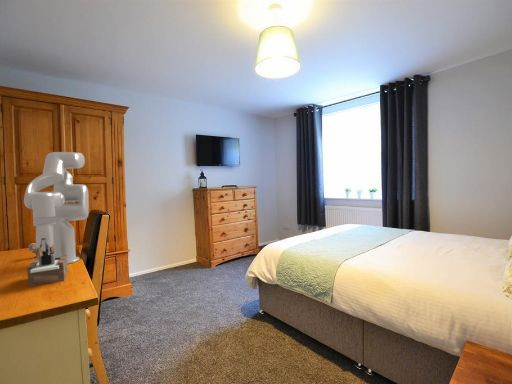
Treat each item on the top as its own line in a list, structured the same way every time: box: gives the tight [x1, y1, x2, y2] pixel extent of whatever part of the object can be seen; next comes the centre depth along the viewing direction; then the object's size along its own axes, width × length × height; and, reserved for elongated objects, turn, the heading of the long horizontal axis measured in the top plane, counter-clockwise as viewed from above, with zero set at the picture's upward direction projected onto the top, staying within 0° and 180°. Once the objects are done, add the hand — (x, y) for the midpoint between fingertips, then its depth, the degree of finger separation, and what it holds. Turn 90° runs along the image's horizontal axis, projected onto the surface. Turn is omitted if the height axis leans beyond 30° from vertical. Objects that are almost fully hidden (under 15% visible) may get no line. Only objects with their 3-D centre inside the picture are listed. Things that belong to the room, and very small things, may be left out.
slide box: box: [26, 255, 69, 288], centre depth 118 cm, size 14×12×8 cm
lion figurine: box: [28, 242, 54, 259], centre depth 157 cm, size 15×5×9 cm, turn 152°
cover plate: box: [30, 253, 60, 273], centre depth 115 cm, size 13×9×5 cm
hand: (47, 262), depth 115 cm, fingers closed on cover plate, 3 cm apart
